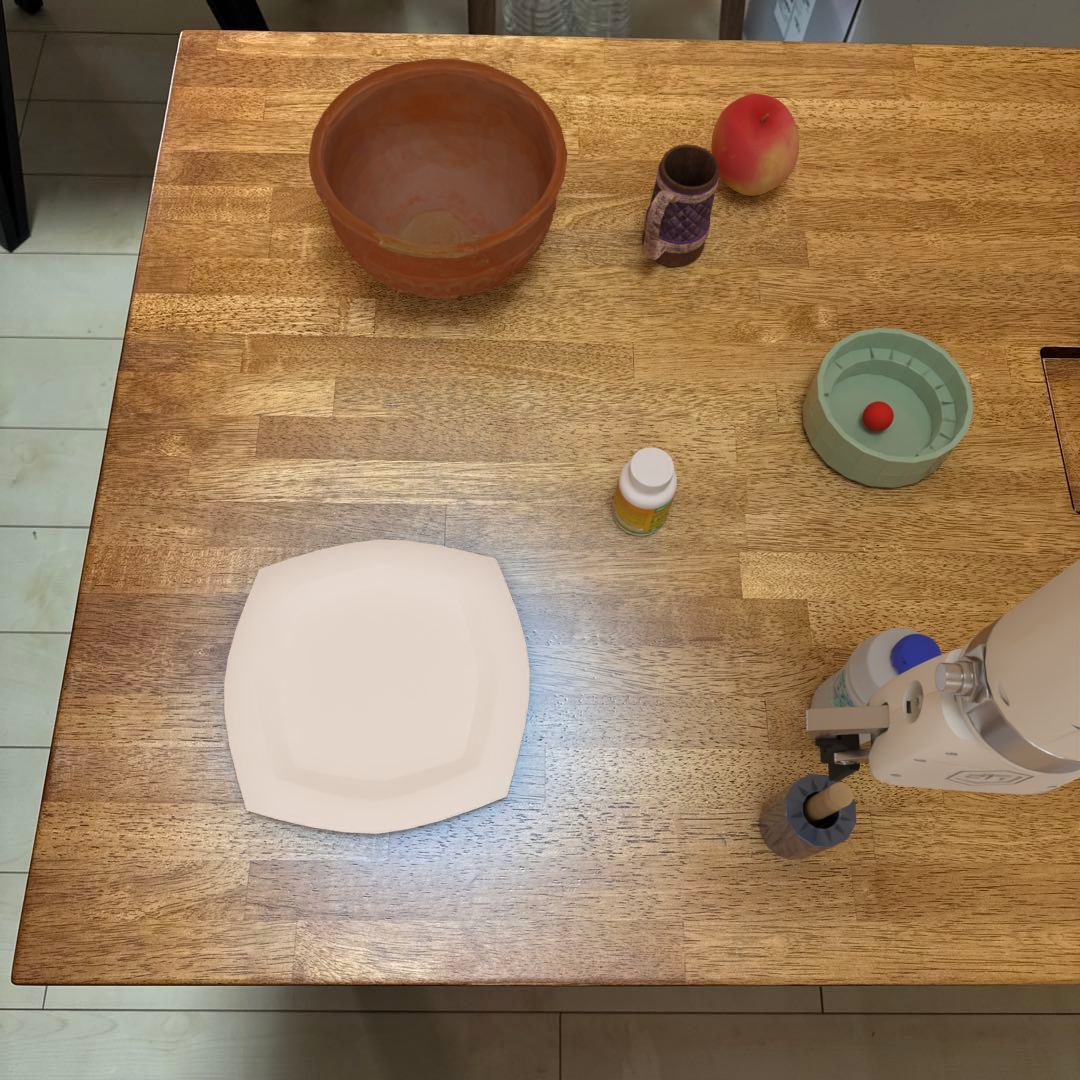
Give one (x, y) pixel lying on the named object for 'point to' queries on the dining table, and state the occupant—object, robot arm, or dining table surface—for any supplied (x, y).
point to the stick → (827, 802)
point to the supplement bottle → (645, 492)
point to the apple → (755, 144)
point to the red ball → (878, 416)
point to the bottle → (874, 668)
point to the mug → (680, 206)
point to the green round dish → (907, 387)
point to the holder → (803, 821)
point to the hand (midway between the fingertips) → (911, 761)
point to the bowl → (439, 174)
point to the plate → (376, 687)
